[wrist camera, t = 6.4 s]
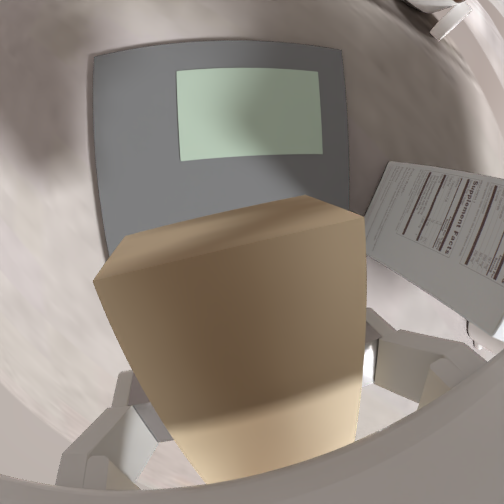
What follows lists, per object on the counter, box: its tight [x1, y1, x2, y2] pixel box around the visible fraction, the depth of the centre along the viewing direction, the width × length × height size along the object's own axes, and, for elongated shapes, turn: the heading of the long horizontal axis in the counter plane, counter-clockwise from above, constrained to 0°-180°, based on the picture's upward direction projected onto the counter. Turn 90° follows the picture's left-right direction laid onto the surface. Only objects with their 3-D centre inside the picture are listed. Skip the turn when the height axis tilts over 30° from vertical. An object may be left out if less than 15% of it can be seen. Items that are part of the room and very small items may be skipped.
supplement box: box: [364, 161, 504, 342], centre depth 19 cm, size 10×9×17 cm
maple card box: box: [93, 195, 367, 484], centre depth 8 cm, size 5×9×3 cm, turn 10°
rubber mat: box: [93, 40, 349, 257], centre depth 22 cm, size 20×22×1 cm
